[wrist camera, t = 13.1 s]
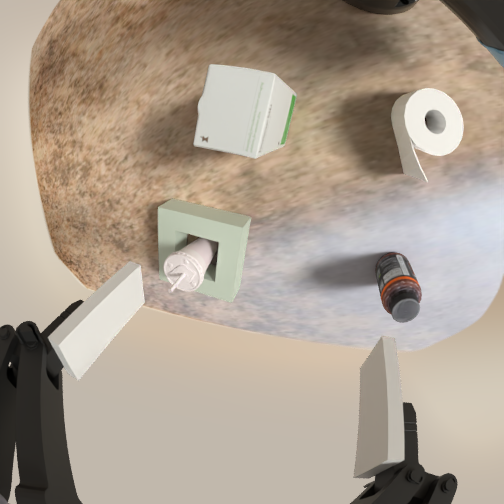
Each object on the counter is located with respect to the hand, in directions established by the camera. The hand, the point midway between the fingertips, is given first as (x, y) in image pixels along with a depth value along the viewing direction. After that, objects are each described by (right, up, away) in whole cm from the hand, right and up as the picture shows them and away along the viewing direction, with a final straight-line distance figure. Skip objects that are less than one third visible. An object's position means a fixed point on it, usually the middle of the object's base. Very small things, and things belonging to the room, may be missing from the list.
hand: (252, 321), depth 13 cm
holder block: (-8, +5, +33) cm, 35 cm away
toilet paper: (+22, +20, +16) cm, 34 cm away
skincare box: (+2, +23, +21) cm, 31 cm away
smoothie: (-8, +5, +33) cm, 35 cm away
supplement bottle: (+23, +1, +26) cm, 35 cm away
